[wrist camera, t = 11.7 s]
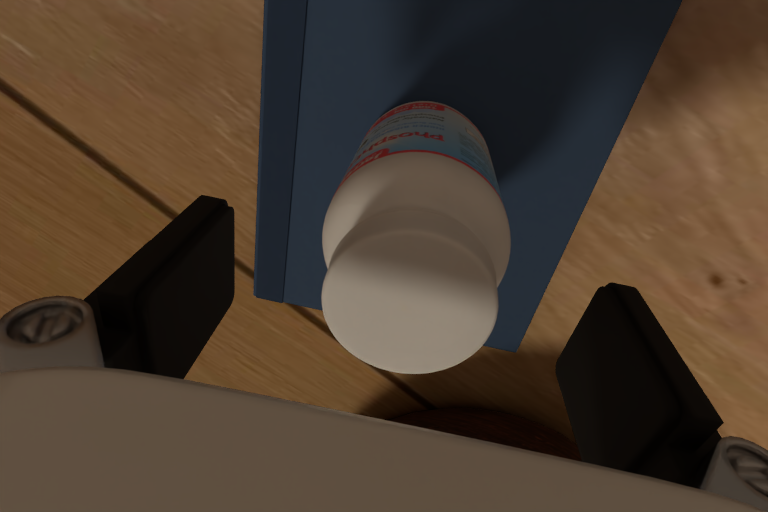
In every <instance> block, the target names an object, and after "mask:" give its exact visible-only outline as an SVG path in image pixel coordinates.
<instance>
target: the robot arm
mask: <svg viewBox="0 0 768 512" xmlns="http://www.w3.org/2000/svg"><path fill="white" fill-rule="evenodd" d="M233 298H234V209H233V207H229V206H228V204H227V201H226V200H224V199H219V198H215V197H210V196H205V195H201V196H199V197H198V198H197V199H196V200H195V201H194V202H193V203H192V204H191V205H189V206H188V207H187V208H186V209H185V210H184V211H183V212H182V213H181V214H179V215H178V216H177V217H176V218H175V219H174V220H173V221H172V222H171V223H169V224H168V225H167V226H166V227H165V228H164V229H163V230H162V231H161V232H159V233H158V234H157V235H156V236H155V237H154V238H153V239H152V240H150V241H149V242H148V243H146V244H145V245H144V246H143V247H142V248H141V249H140V250H139V251H137V252H136V253H135V254H134V255H133V256H132V257H131V258H130V259H129V260H127V261H126V262H125V263H124V264H123V265H122V266H121V267H120V268H119V269H117V270H116V271H115V272H114V273H113V274H112V275H111V276H110V277H109V278H107V279H106V280H105V281H104V282H103V283H102V284H101V285H100V286H99V287H97V288H96V289H95V290H94V291H93V292H92V293H91V294H90V295H88V296H87V297H86V298H85V299H84V300H82V299H78V298H75V297H71V296H51V297H43V298H39V299H35V300H32V301H28V302H26V303H24V304H22V305H19V306H17V307H15V308H13V309H12V310H11V311H9V312H8V313H6V314H5V315H4V316H3V317H2V318H1V319H0V512H768V450H766V449H765V448H763V447H761V446H759V445H757V444H755V443H754V442H751V441H749V440H746V439H743V438H740V437H733V436H729V437H724V438H721V436H720V434H719V433H718V431H717V429H718V428H719V427H720V426H721V425H722V424H723V423H724V422H723V421H722V419H721V418H720V416H719V415H718V413H717V412H716V410H715V409H714V407H713V405H712V404H711V402H710V401H709V399H708V398H707V396H706V395H705V393H704V392H703V390H702V388H701V387H700V385H699V384H698V382H697V381H696V379H695V378H694V376H693V375H692V373H691V372H690V370H689V368H688V367H687V365H686V364H685V362H684V361H683V359H682V358H681V356H680V355H679V353H678V352H677V350H676V348H675V347H674V345H673V344H672V342H671V341H670V339H669V338H668V336H667V335H666V333H665V331H664V330H663V328H662V327H661V325H660V324H659V322H658V321H657V319H656V318H655V316H654V315H653V313H652V311H651V310H650V308H649V307H648V305H647V304H646V302H645V301H644V299H643V298H642V296H641V294H640V293H639V291H638V290H637V289H636V288H634V287H631V286H626V285H621V284H617V283H608V284H607V285H606V286H605V287H603V286H602V287H600V288H598V290H597V291H596V293H595V295H594V296H593V298H592V300H591V302H590V304H589V305H588V307H587V309H586V311H585V312H584V314H583V316H582V318H581V319H580V321H579V323H578V325H577V326H576V328H575V330H574V332H573V334H572V335H571V337H570V339H569V341H568V342H567V344H566V346H565V348H564V349H563V351H562V353H561V355H560V356H559V358H558V360H557V363H556V369H555V370H556V376H557V380H558V383H559V386H560V390H561V393H562V396H563V400H564V403H565V406H566V410H567V413H568V416H569V420H570V423H571V426H572V430H573V433H574V436H575V439H576V443H577V446H578V449H579V453H580V456H581V459H582V462H580V461H576V460H571V459H567V458H562V457H557V456H553V455H548V454H543V453H539V452H534V451H529V450H525V449H520V448H515V447H511V446H506V445H501V444H497V443H492V442H488V441H483V440H478V439H473V438H468V437H464V436H459V435H454V434H449V433H445V432H440V431H435V430H430V429H426V428H421V427H416V426H411V425H407V424H402V423H397V422H392V421H387V420H383V419H378V418H373V417H368V416H363V415H359V414H354V413H349V412H344V411H339V410H334V409H329V408H324V407H319V406H315V405H310V404H305V403H300V402H295V401H290V400H285V399H280V398H275V397H270V396H265V395H261V394H256V393H251V392H246V391H241V390H236V389H231V388H226V387H221V386H215V385H210V384H205V383H200V382H195V381H190V380H184V377H185V376H186V374H187V373H188V371H189V370H190V368H191V367H192V365H193V363H194V362H195V360H196V359H197V357H198V356H199V354H200V352H201V351H202V349H203V348H204V346H205V345H206V343H207V342H208V340H209V338H210V337H211V335H212V334H213V332H214V331H215V329H216V327H217V326H218V324H219V323H220V321H221V320H222V318H223V317H224V315H225V313H226V312H227V310H228V309H229V307H230V305H231V304H232V301H233Z"/></svg>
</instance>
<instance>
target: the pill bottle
mask: <svg viewBox="0 0 768 512" xmlns="http://www.w3.org/2000/svg"><path fill="white" fill-rule="evenodd" d="M322 245H323V254H324V258H325V262H326V265H327V268H328V271H327V273H326V276H325V279H324V282H323V287H322V295H321V299H322V309H323V314H324V317H325V320H326V322H327V324H328V327H329V329H330V330H331V332H332V333H333V335H334V336H335V338H336V339H337V340H338V341H339V343H340V344H341V345H342V346H343V347H344V348H345V349H347V350H348V351H349V352H350V353H351V354H353V355H354V356H356V357H357V358H359V359H361V360H362V361H364V362H366V363H368V364H370V365H373V366H375V367H378V368H380V369H384V370H388V371H391V372H396V373H404V374H424V373H432V372H436V371H441V370H444V369H447V368H450V367H453V366H455V365H457V364H459V363H461V362H463V361H465V360H466V359H468V358H469V357H470V356H472V355H473V354H474V353H475V352H477V351H478V350H479V349H480V348H481V347H482V345H483V344H484V343H485V342H486V340H487V339H488V337H489V336H490V334H491V332H492V330H493V328H494V325H495V322H496V319H497V314H498V307H499V305H498V291H497V287H498V286H499V284H500V282H501V280H502V278H503V276H504V274H505V271H506V269H507V265H508V262H509V256H510V246H511V237H510V228H509V223H508V218H507V214H506V210H505V207H504V203H503V200H502V196H501V193H500V190H499V186H498V182H497V179H496V175H495V171H494V168H493V165H492V161H491V157H490V154H489V150H488V147H487V145H486V142H485V140H484V138H483V136H482V134H481V133H480V132H479V130H478V129H477V127H476V126H475V125H474V124H473V123H472V122H471V121H470V120H469V119H468V118H467V117H465V116H464V115H463V114H462V113H460V112H459V111H457V110H455V109H454V108H452V107H449V106H447V105H445V104H441V103H438V102H432V101H415V102H409V103H406V104H402V105H400V106H397V107H395V108H393V109H391V110H390V111H388V112H387V113H385V114H384V115H383V116H381V117H380V118H379V119H378V120H377V121H376V122H375V123H374V124H373V125H372V127H371V128H370V129H369V131H368V132H367V134H366V136H365V137H364V139H363V141H362V143H361V145H360V147H359V149H358V151H357V152H356V154H355V156H354V158H353V160H352V162H351V164H350V166H349V167H348V169H347V171H346V173H345V175H344V177H343V179H342V181H341V183H340V185H339V187H338V189H337V190H336V192H335V194H334V196H333V198H332V200H331V203H330V205H329V208H328V210H327V213H326V216H325V220H324V225H323V232H322Z"/></svg>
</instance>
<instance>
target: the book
mask: <svg viewBox="0 0 768 512" xmlns="http://www.w3.org/2000/svg"><path fill="white" fill-rule="evenodd" d="M681 2H682V0H264V24H263V51H262V78H261V106H260V133H259V160H258V187H257V214H256V241H255V268H254V296H256V297H257V298H261V299H266V300H270V301H275V302H280V303H283V302H286V303H291V304H295V305H300V306H304V307H309V308H313V309H318V310H323V309H322V299H321V295H322V287H323V282H324V279H325V276H326V273H327V271H328V268H327V265H326V262H325V258H324V254H323V245H322V232H323V225H324V220H325V216H326V213H327V210H328V208H329V205H330V203H331V200H332V198H333V196H334V194H335V192H336V190H337V189H338V187H339V185H340V183H341V181H342V179H343V177H344V175H345V173H346V171H347V169H348V167H349V166H350V164H351V162H352V160H353V158H354V156H355V154H356V152H357V151H358V149H359V147H360V145H361V143H362V141H363V139H364V137H365V136H366V134H367V132H368V131H369V129H370V128H371V127H372V125H373V124H374V123H375V122H376V121H377V120H378V119H379V118H380V117H381V116H383V115H384V114H385V113H387V112H388V111H390V110H391V109H393V108H395V107H397V106H400V105H402V104H406V103H409V102H415V101H432V102H438V103H441V104H445V105H447V106H449V107H452V108H454V109H455V110H457V111H459V112H460V113H462V114H463V115H464V116H465V117H467V118H468V119H469V120H470V121H471V122H472V123H473V124H474V125H475V126H476V127H477V129H478V130H479V132H480V133H481V134H482V136H483V138H484V140H485V142H486V145H487V147H488V150H489V154H490V157H491V161H492V165H493V168H494V171H495V175H496V179H497V182H498V186H499V190H500V193H501V196H502V200H503V203H504V207H505V210H506V214H507V218H508V223H509V228H510V237H511V246H510V256H509V262H508V265H507V269H506V271H505V274H504V276H503V278H502V280H501V282H500V284H499V286H498V287H497V291H498V305H499V307H498V314H497V319H496V322H495V325H494V328H493V330H492V332H491V334H490V336H489V337H488V339H487V340H486V342H485V343H484V344H483V346H488V347H492V348H497V349H501V350H506V351H511V352H515V353H516V352H517V349H518V347H519V345H520V343H521V341H522V339H523V337H524V335H525V333H526V330H527V328H528V326H529V324H530V322H531V320H532V318H533V316H534V314H535V311H536V309H537V307H538V305H539V303H540V301H541V299H542V297H543V294H544V292H545V290H546V288H547V286H548V284H549V282H550V280H551V278H552V275H553V273H554V271H555V269H556V267H557V265H558V263H559V261H560V258H561V256H562V254H563V252H564V250H565V248H566V246H567V244H568V242H569V239H570V237H571V235H572V233H573V231H574V229H575V227H576V225H577V222H578V220H579V218H580V216H581V214H582V212H583V210H584V208H585V206H586V203H587V201H588V199H589V197H590V195H591V193H592V191H593V189H594V186H595V184H596V182H597V180H598V178H599V176H600V174H601V172H602V170H603V167H604V165H605V163H606V161H607V159H608V157H609V155H610V153H611V150H612V148H613V146H614V144H615V142H616V140H617V138H618V136H619V134H620V131H621V129H622V127H623V125H624V123H625V121H626V119H627V117H628V115H629V112H630V110H631V108H632V106H633V104H634V102H635V100H636V98H637V95H638V93H639V91H640V89H641V87H642V85H643V83H644V81H645V79H646V76H647V74H648V72H649V70H650V68H651V66H652V64H653V62H654V59H655V57H656V55H657V53H658V51H659V49H660V47H661V45H662V43H663V40H664V38H665V36H666V34H667V32H668V30H669V28H670V26H671V23H672V21H673V19H674V17H675V15H676V13H677V11H678V9H679V7H680V4H681Z"/></svg>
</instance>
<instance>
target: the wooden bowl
mask: <svg viewBox="0 0 768 512" xmlns="http://www.w3.org/2000/svg"><path fill="white" fill-rule="evenodd" d="M388 421H392V422H397V423H402V424H407V425H411V426H416V427H421V428H426V429H430V430H435V431H440V432H445V433H449V434H454V435H459V436H464V437H468V438H473V439H478V440H483V441H488V442H492V443H497V444H501V445H506V446H511V447H515V448H520V449H525V450H529V451H534V452H539V453H543V454H548V455H553V456H557V457H562V458H567V459H571V460H576V461H580V462H582V459H581V456H580V453H579V449H578V446H577V445H576V444H575V443H573V442H572V441H570V440H569V439H567V438H566V437H564V436H563V435H561V434H559V433H557V432H555V431H553V430H552V429H549V428H547V427H545V426H543V425H540V424H538V423H535V422H532V421H529V420H526V419H523V418H520V417H517V416H513V415H509V414H505V413H500V412H495V411H489V410H481V409H468V408H445V409H433V410H426V411H420V412H415V413H411V414H407V415H403V416H400V417H397V418H394V419H391V420H388Z"/></svg>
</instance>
